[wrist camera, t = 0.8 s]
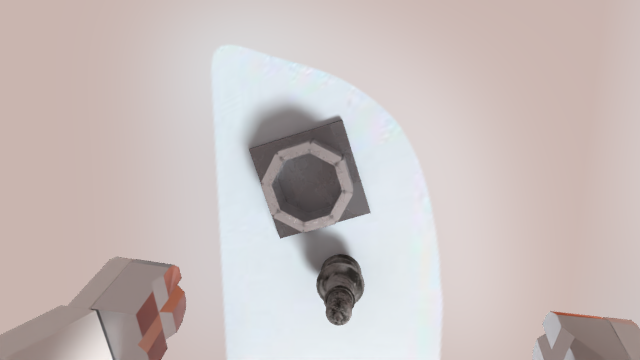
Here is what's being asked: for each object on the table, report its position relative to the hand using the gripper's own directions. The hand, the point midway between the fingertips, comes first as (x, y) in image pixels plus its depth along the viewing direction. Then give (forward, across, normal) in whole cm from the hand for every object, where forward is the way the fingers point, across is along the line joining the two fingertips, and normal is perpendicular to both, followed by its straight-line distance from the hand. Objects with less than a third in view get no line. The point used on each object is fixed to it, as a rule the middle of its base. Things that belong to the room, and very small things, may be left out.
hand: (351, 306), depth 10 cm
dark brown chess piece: (+36, -4, -31) cm, 47 cm away
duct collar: (+39, -8, -19) cm, 44 cm away
